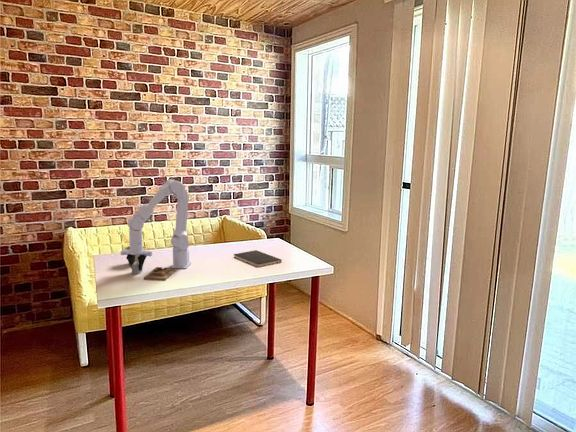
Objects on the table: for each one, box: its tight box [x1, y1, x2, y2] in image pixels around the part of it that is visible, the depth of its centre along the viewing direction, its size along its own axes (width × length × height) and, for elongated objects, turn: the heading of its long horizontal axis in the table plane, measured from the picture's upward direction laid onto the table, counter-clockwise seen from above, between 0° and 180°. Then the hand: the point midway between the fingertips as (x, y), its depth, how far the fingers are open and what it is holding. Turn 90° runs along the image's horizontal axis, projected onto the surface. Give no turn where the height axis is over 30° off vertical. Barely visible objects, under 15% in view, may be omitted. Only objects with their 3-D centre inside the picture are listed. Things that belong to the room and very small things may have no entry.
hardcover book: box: [233, 249, 283, 268], centre depth 226 cm, size 16×23×2 cm
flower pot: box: [124, 245, 145, 265], centre depth 211 cm, size 9×9×9 cm
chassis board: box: [143, 266, 176, 281], centre depth 195 cm, size 14×10×2 cm
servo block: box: [131, 262, 143, 276], centre depth 198 cm, size 5×3×6 cm, turn 177°
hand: (137, 269), depth 198 cm, fingers closed on servo block, 3 cm apart
